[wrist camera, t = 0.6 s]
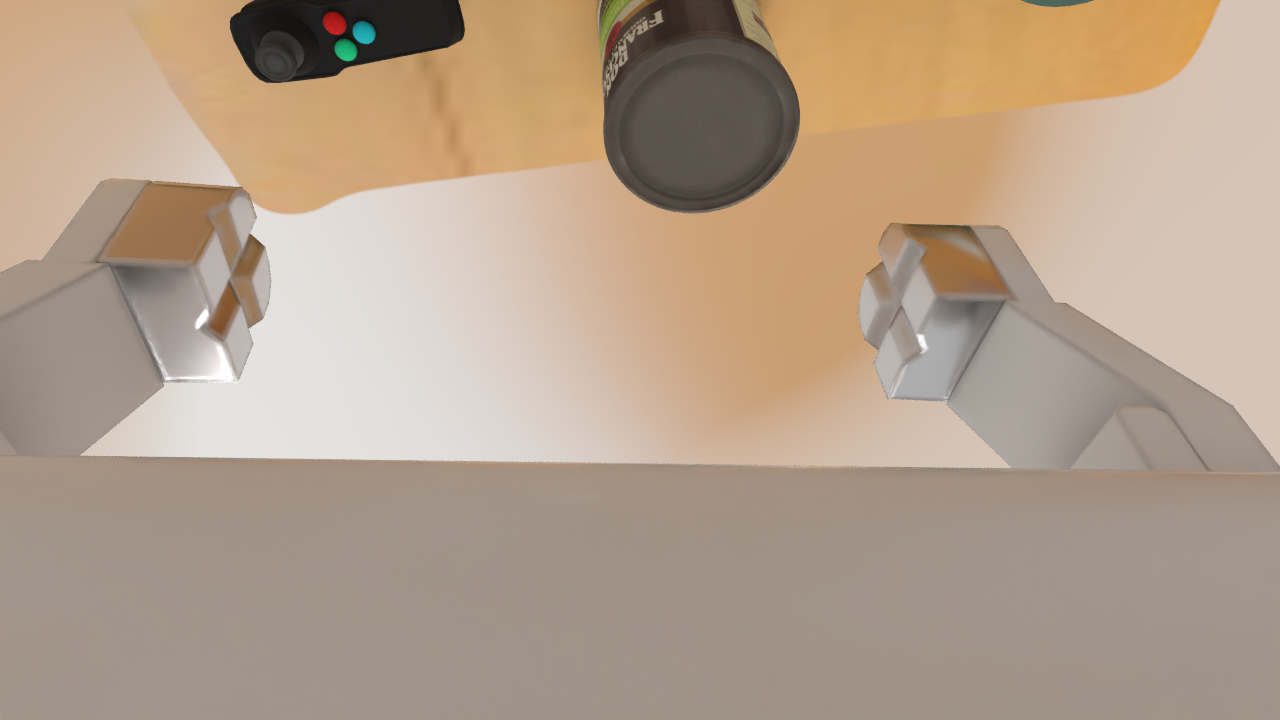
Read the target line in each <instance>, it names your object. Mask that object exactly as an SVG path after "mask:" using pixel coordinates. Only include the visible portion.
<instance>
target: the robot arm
mask: <svg viewBox="0 0 1280 720" xmlns="http://www.w3.org/2000/svg"><path fill="white" fill-rule="evenodd" d="M256 218H257V216H256V213H255V210H254V207H253V204H252V201H251V198H250V195H249V194H248V193H247V192H246V191H245V190H244V189H243V188H242V187H231V186H217V185H203V184H189V183H176V182H162V181H155V182H152V181H149V180H130V179H108V180H104V181H101V182H100V183H99V184H98V185H97V186H96V188H95V189H94V191H93V192H92V193H91V195H90V196H89V197H88V199H87V200H86V201H85V203H84V204H83V205H82V207H81V208H80V210H79V211H78V212H77V213H76V215H75V216H74V218H73V219H72V220H71V222H70V223H69V224H68V226H67V227H66V228H65V230H64V231H63V233H62V234H61V235H60V236H59V238H58V239H57V240H56V242H55V243H54V245H53V246H52V247H51V249H50V250H49V251H48V253H47V254H46V255H45V257H44V258H43V259H42V261H39V260H26V261H24V262H22V263H20V264H18V265H15V266H13V267H11V268H9V269H7V270H5V271H3V272H0V720H1280V466H1279V465H1278V464H1277V462H1276V461H1275V460H1274V458H1273V457H1272V456H1271V454H1270V453H1269V452H1268V451H1267V449H1266V448H1265V447H1264V445H1263V444H1262V443H1261V441H1260V440H1259V439H1258V438H1257V436H1256V435H1255V434H1254V432H1253V431H1252V430H1251V429H1250V427H1249V426H1248V425H1247V423H1246V422H1245V421H1244V420H1243V418H1242V417H1241V416H1240V415H1239V413H1238V412H1237V410H1236V409H1235V408H1234V407H1233V405H1231V404H1229V403H1228V402H1226V401H1224V400H1223V399H1221V398H1220V397H1218V396H1216V395H1215V394H1213V393H1211V392H1210V391H1208V390H1207V389H1205V388H1203V387H1202V386H1200V385H1198V384H1197V383H1195V382H1193V381H1192V380H1190V379H1189V378H1187V377H1185V376H1184V375H1182V374H1180V373H1179V372H1177V371H1176V370H1174V369H1172V368H1171V367H1169V366H1167V365H1166V364H1164V363H1162V362H1161V361H1159V360H1158V359H1156V358H1154V357H1152V356H1151V355H1149V354H1148V353H1146V352H1145V351H1143V350H1141V349H1140V348H1138V347H1136V346H1135V345H1133V344H1132V343H1130V342H1128V341H1127V340H1125V339H1123V338H1122V337H1120V336H1118V335H1117V334H1115V333H1114V332H1112V331H1110V330H1109V329H1107V328H1106V327H1104V326H1102V325H1100V324H1099V323H1097V322H1096V321H1094V320H1092V319H1091V318H1089V317H1088V316H1086V315H1084V314H1083V313H1081V312H1079V311H1078V310H1076V309H1075V308H1073V307H1071V306H1070V305H1068V304H1066V303H1055V302H1054V301H1053V299H1052V298H1051V296H1050V294H1049V293H1048V291H1047V290H1046V288H1045V287H1044V285H1043V284H1042V282H1041V281H1040V279H1039V278H1038V276H1037V274H1036V273H1035V271H1034V270H1033V268H1032V267H1031V265H1030V264H1029V262H1028V261H1027V259H1026V258H1025V256H1024V255H1023V253H1022V252H1021V250H1020V249H1019V247H1018V246H1017V244H1016V242H1015V241H1014V239H1013V238H1012V236H1011V235H1010V233H1009V232H1008V230H1006V229H1004V228H1002V227H1001V226H997V225H996V226H995V225H992V226H991V225H963V226H959V225H933V224H907V223H904V224H903V223H891V224H890V225H889V226H888V227H887V229H886V230H885V231H884V233H883V235H882V237H881V240H880V242H879V244H878V247H877V249H878V251H879V253H880V256H881V258H882V262H881V263H880V264H879V265H877V266H876V267H875V268H873V269H872V270H871V271H870V272H868V273H867V274H866V277H865V280H864V283H863V286H862V289H861V292H860V298H859V307H858V315H859V323H860V328H861V330H862V333H863V336H864V339H865V340H866V341H867V342H868V343H870V344H871V345H872V346H873V347H875V348H876V349H878V350H879V351H878V354H877V356H876V358H875V360H874V365H875V368H876V371H877V374H878V376H879V379H880V381H881V384H882V387H883V389H884V392H885V394H886V397H887V399H906V400H927V401H946V402H947V406H948V407H949V408H950V409H952V410H953V411H954V412H955V413H956V414H957V415H958V416H959V417H960V418H961V419H962V420H963V421H964V422H965V423H966V424H967V425H968V426H969V427H970V428H971V429H972V430H973V431H975V433H976V434H977V435H978V436H979V437H981V438H982V439H983V440H984V441H985V442H986V443H987V444H988V445H989V446H990V447H991V448H992V449H993V450H994V451H995V452H996V453H997V454H998V455H999V456H1000V457H1001V458H1002V459H1003V460H1004V461H1005V462H1006V463H1007V464H1008V465H1009V466H1011V467H1012V468H929V467H928V468H926V467H925V468H923V467H922V468H921V467H862V466H861V467H860V466H796V465H790V466H789V465H729V464H657V463H576V462H574V463H573V462H496V461H495V462H494V461H418V460H416V461H415V460H414V461H413V460H345V459H344V460H343V459H340V460H339V459H336V460H335V459H272V458H271V459H270V458H200V457H197V458H195V457H128V456H127V457H126V456H80V455H81V454H82V453H83V452H84V451H85V450H87V449H88V448H89V447H91V446H92V445H93V444H94V443H95V442H97V441H98V440H99V439H100V438H101V437H103V436H104V435H105V434H106V433H108V432H109V431H110V430H111V429H112V428H113V427H115V426H116V425H117V424H118V423H120V422H121V421H122V420H123V419H124V418H126V417H127V416H128V415H129V414H131V413H132V412H133V411H134V410H135V409H137V408H138V407H139V406H140V405H142V404H143V403H144V402H145V401H146V400H148V399H149V398H150V397H151V396H152V395H153V394H155V393H156V392H157V391H158V390H160V389H161V388H162V387H163V386H164V384H163V382H238V381H239V379H240V376H241V374H242V371H243V368H244V366H245V363H246V361H247V358H248V356H249V353H250V351H251V348H252V346H253V341H252V338H251V335H250V332H249V328H250V327H252V326H253V325H255V324H256V323H258V322H259V321H261V320H262V319H263V318H264V315H265V312H266V309H267V306H268V304H269V297H270V288H271V274H270V265H269V260H268V256H267V252H266V249H265V246H264V245H262V244H261V243H260V242H259V241H258V240H257V239H256V238H255V237H253V236H252V235H251V234H250V231H251V229H252V227H253V224H254V222H255V220H256Z"/></svg>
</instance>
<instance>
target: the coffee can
mask: <svg viewBox="0 0 1280 720" xmlns="http://www.w3.org/2000/svg"><path fill="white" fill-rule="evenodd" d="M597 26H598V33H599V39H600V49H601V64H602V80H603V99H604V126H603V134H604V144H605V149H606V154H607V157H608V160H609V162H610V165H611V167H612V169H613V171H614V172H615V174H616V175H617V177H618V178H619V179H620V181H621V182H622V183H623V184H624V185H625V186H626V188H627V189H629V190H630V191H631V192H632V193H633V194H635V195H636V196H637V197H639V198H640V199H642V200H644V201H645V202H647V203H649V204H651V205H653V206H656V207H658V208H662V209H665V210H669V211H673V212H681V213H705V212H712V211H716V210H721V209H724V208H728V207H731V206H733V205H736V204H738V203H740V202H742V201H744V200H746V199H748V198H750V197H751V196H753V195H754V194H756V193H757V192H759V191H760V190H761V189H763V188H764V187H765V186H766V185H767V184H768V183H769V182H771V181H772V180H773V179H774V177H775V176H776V175H777V174H778V173H779V172H780V171H781V169H782V168H783V167H784V165H785V164H786V162H787V160H788V158H789V157H790V155H791V152H792V150H793V148H794V145H795V143H796V139H797V136H798V131H799V124H800V109H799V102H798V97H797V93H796V90H795V88H794V85H793V83H792V81H791V79H790V77H789V75H788V74H787V72H786V70H785V69H784V67H783V66H782V64H781V62H780V59H779V57H778V54H777V51H776V49H775V46H774V44H773V41H772V39H771V37H770V34H769V32H768V30H767V27H766V25H765V22H764V20H763V18H762V15H761V12H760V10H759V7H758V5H757V3H756V0H599V6H598V15H597Z"/></svg>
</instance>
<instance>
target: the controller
mask: <svg viewBox="0 0 1280 720" xmlns="http://www.w3.org/2000/svg"><path fill="white" fill-rule="evenodd" d="M230 30H231V33H232V36H233V39H234V42H235V43H236V45H237V47H238V49H239V51H240V53H241V55H242V57H243V59H244V61H245V63H246V64H247V66H248V67H249V69H250V70H251V71H252V73H253V74H254V75H255V76H256V77H257V78H258V79H260V80H262V81H264V82H266V83H282V82H291V81H300V80H308V79H317V78H326V77H332V76H336V75H338V74H339V73H340V72H341V71H342V70H343V69H344V68H347V67H351V66H356V65H361V64H366V63H371V62H376V61H381V60H386V59H391V58H396V57H402V56H407V55H412V54H417V53H422V52H427V51H432V50H437V49H442V48H447V47H449V46H451V45H453V44H455V43H457V42H459V41H461V40H462V39H463V36H464V32H465V28H464V20H463V16H462V12H461V8H460V4H459V1H458V0H254V1H252V2H250V3H248V4H247V5H245V6H244V7H243V8H242V10H241V12H239V13H237V14H235V15H234V16H233V17H231V20H230Z"/></svg>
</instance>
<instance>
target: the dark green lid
mask: <svg viewBox="0 0 1280 720" xmlns="http://www.w3.org/2000/svg"><path fill="white" fill-rule="evenodd" d="M1022 1H1024V2H1027V3H1030V4H1035V5H1039V6H1049V7H1061V6H1072V5H1077V4H1082V3H1086V2H1089V1H1093V0H1022Z"/></svg>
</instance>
